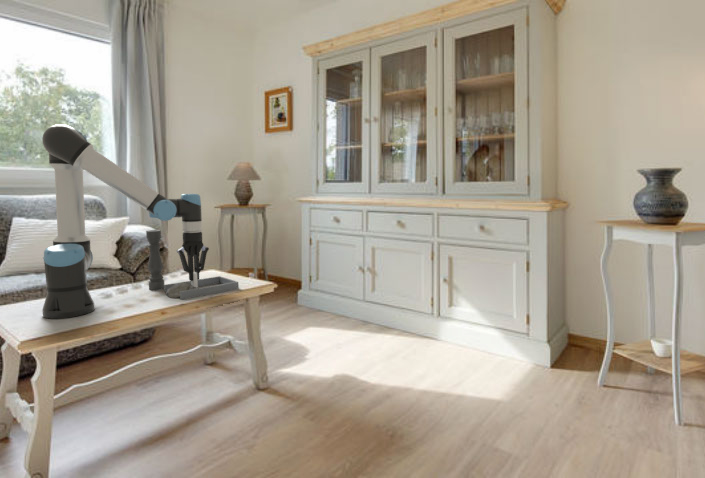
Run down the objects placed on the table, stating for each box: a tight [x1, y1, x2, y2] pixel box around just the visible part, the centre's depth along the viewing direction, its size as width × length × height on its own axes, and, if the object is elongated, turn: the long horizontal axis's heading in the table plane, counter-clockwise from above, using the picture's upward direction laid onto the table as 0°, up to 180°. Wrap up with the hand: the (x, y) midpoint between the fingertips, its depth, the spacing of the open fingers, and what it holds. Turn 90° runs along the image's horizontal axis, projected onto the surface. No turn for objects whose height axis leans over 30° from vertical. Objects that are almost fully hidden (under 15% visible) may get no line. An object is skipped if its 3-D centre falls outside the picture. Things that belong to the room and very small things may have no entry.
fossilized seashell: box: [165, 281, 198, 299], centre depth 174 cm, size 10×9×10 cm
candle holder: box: [145, 229, 165, 291], centre depth 184 cm, size 6×6×25 cm
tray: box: [164, 275, 240, 300], centre depth 181 cm, size 25×17×3 cm
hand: (194, 287), depth 179 cm, fingers closed
